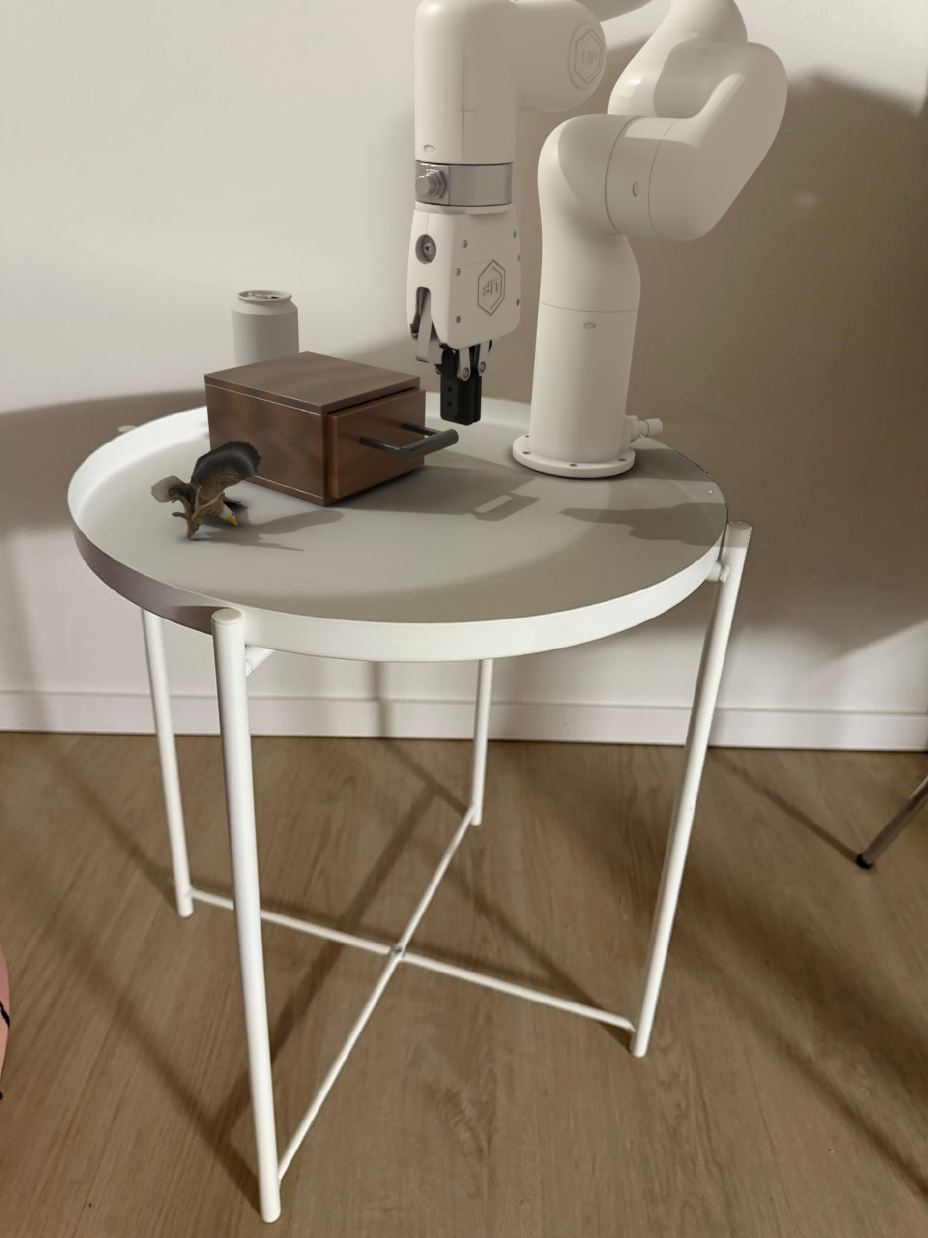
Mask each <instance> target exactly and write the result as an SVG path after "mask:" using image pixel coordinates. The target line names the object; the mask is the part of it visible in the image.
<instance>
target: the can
mask: <svg viewBox="0 0 928 1238" xmlns="http://www.w3.org/2000/svg"><path fill="white" fill-rule="evenodd" d="M292 296H293V295H292V294H291V293H289V292H286V291H284V290H283V291H281V290H273V289H251V290H250V289H249V290H244V291H239V292H237V293H236V295H235V297H236V298H237V300H236V302H234V304H233V305H232V306H231V321H232V337H233V338H232V339H233V351H234V368H235V367H239V366H244V365H248V364H252V363H257V362H261V361H266V360H270V359H274V358H279V357H283V356H287V355H292V354H296V353H300V339H299V337H300V335H299V309H298V307H297V305H296V304H295V303H294V302H293V301H292V300H291V299H292V298H293V297H292Z"/></svg>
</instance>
